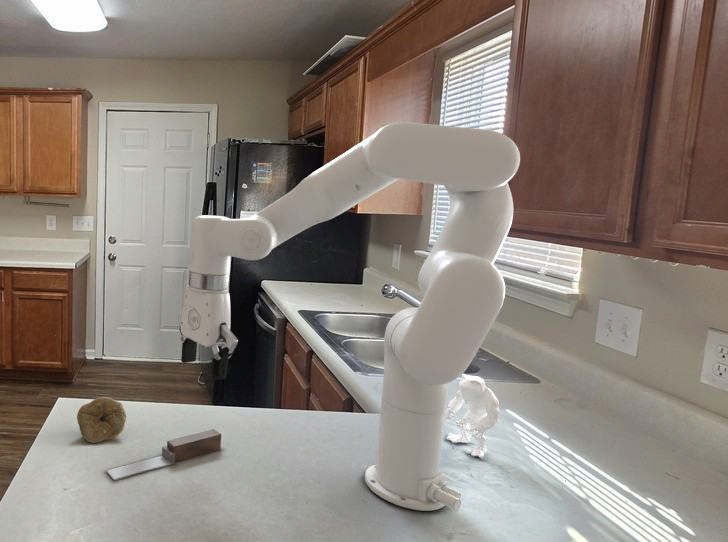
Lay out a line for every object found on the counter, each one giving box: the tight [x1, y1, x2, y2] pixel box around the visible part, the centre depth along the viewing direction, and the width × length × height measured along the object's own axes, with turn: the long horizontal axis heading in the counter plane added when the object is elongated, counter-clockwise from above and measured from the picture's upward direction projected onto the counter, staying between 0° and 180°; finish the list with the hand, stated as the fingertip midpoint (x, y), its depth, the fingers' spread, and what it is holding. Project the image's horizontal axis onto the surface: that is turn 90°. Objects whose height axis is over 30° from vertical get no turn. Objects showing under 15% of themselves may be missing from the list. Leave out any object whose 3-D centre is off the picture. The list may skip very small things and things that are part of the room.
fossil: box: [76, 396, 127, 444], centre depth 102 cm, size 9×4×10 cm
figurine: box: [444, 373, 501, 460], centre depth 100 cm, size 11×7×15 cm, turn 7°
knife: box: [106, 428, 222, 481], centre depth 92 cm, size 23×3×3 cm, turn 120°
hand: (202, 369), depth 95 cm, fingers open, 9 cm apart
